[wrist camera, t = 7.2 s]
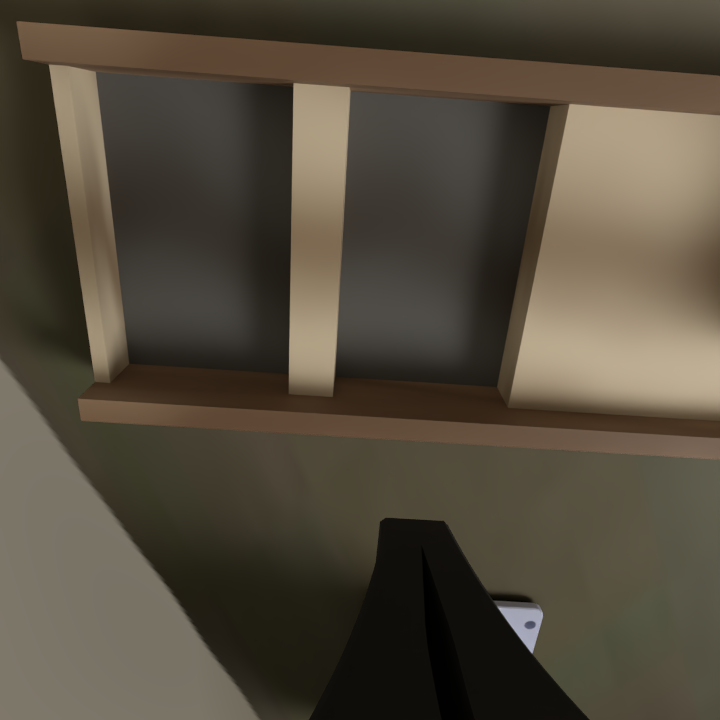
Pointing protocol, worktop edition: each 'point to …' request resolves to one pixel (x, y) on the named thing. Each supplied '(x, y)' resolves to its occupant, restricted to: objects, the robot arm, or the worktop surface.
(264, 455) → the worktop surface
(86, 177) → the brown wooden open box
